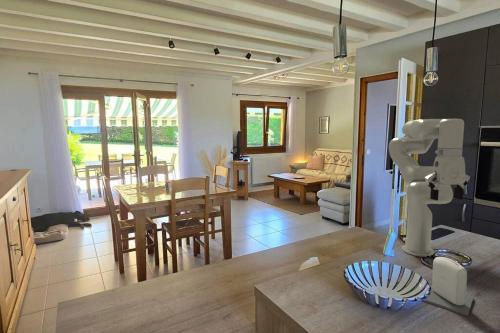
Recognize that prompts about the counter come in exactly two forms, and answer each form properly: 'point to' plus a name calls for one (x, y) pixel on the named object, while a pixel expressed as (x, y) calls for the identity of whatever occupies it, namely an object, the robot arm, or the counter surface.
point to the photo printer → (449, 280)
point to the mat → (450, 303)
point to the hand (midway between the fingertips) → (446, 199)
